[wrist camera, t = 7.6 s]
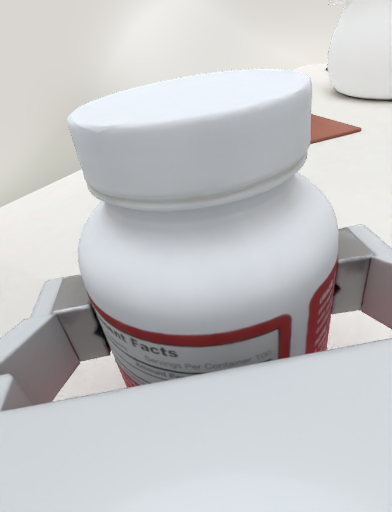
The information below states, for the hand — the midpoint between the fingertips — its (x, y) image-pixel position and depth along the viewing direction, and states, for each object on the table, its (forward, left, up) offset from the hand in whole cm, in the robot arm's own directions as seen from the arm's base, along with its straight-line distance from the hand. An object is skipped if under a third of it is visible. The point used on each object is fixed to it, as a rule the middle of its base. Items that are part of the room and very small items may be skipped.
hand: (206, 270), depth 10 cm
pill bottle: (0, -1, -6) cm, 6 cm away
